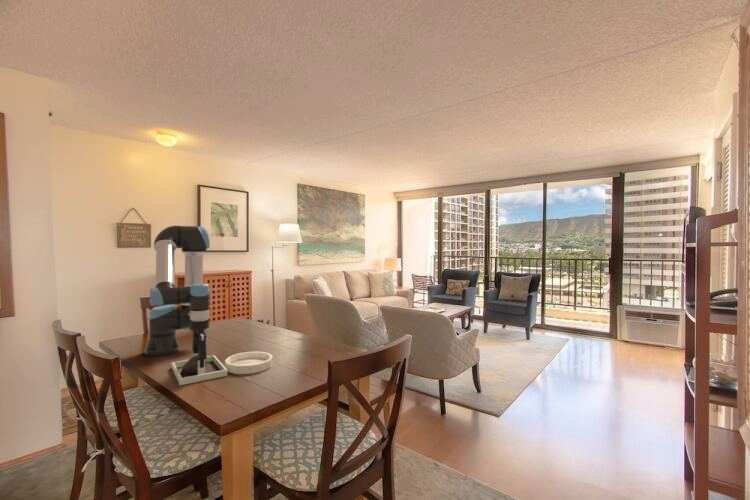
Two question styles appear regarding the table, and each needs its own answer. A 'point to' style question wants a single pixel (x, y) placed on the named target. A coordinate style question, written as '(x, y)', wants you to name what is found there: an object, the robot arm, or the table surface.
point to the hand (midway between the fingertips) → (198, 371)
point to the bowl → (248, 362)
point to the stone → (191, 366)
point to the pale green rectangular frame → (202, 376)
